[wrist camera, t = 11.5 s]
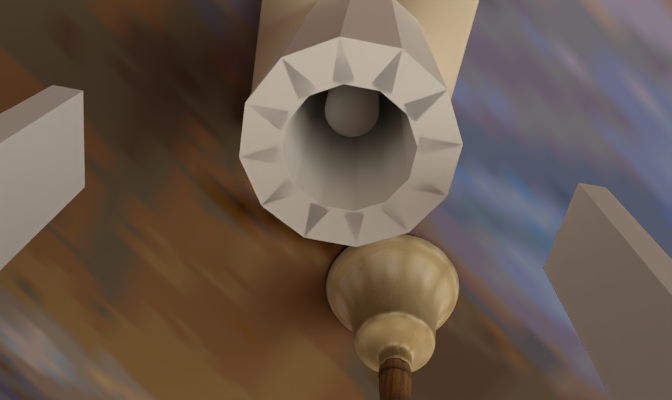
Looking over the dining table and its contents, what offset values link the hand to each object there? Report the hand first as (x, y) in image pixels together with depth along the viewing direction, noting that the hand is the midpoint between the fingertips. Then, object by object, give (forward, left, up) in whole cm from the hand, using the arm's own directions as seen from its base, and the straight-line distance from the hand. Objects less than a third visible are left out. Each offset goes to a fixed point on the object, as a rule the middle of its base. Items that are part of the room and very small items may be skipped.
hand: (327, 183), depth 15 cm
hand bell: (+5, -14, -16) cm, 22 cm away
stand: (0, 0, -16) cm, 16 cm away
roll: (0, 0, -14) cm, 14 cm away
